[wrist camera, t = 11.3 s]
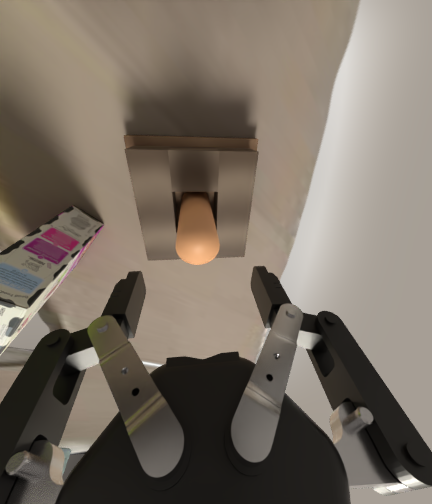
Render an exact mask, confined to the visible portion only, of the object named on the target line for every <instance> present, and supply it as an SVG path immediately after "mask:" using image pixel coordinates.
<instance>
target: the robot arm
mask: <svg viewBox="0 0 432 504" xmlns="http://www.w3.org/2000/svg"><path fill="white" fill-rule="evenodd" d="M251 290H252V293H253V295H254V298H255V301H256V304H257V307H258V309H259V312H260V315H261V318H262V321H263V323H264V326H265V328H271V330H270V332H269V334H268V336H267V339H266V341H265V344H264V346H263V348H262V351H261V353H260V356H259V358H258V360H257V363H256V364H254V363H253V362H251V361H249V360H247V359H245V358H241V357H239V353H238V352H228V353H220V354H217V355H215V356H212V357H209V358H207V359H197V358H191V357H185V356H184V357H173V358H167V361H166V364H165V365H162V366H160V367H158V368H157V369H155V370H154V371H153V372H152V373H150V374H149V373H148V371H147V370H146V368H145V366H144V365H143V363H142V361H141V360H140V358H139V356H138V355H137V353H136V351H135V350H134V348H133V346H132V344H131V343H130V342H129V341H128V338H134V336H135V333H136V329H137V325H138V321H139V318H140V314H141V310H142V306H143V302H144V299H145V294H146V288H145V283H144V279H143V275H142V272H141V271H132V272H129V273H128V275H127V278H126V279H121V280H120V281H119V282H118V283H117V284H116V285H115V287H114V289H113V292H112V294H111V296H110V298H109V300H108V302H107V304H106V307H105V309H104V311H103V313H102V315H101V317H99V318H97V319H96V320H94V321H93V322H92V323H91V324H90V325H89V327H88V328H86V329H83V330H80V331H77V332H73V333H70V332H69V331H68V330H65V329H59V330H55V331H53V332H51V333H49V334H47V335H46V336H45V337H43V338H42V339H41V341H40V342H39V343H38V345H37V346H36V348H35V349H34V351H33V352H32V354H31V356H30V357H29V359H28V361H27V362H26V364H25V365H24V367H23V369H22V370H21V372H20V373H19V375H18V377H17V378H16V380H15V381H14V383H13V385H12V386H11V388H10V389H9V391H8V393H7V394H6V396H5V397H4V399H3V401H2V402H1V404H0V504H351V503H350V492H349V489H357V488H370V487H372V488H373V489H374V490H375V491H376V492H378V493H380V494H382V495H393V494H398V493H403V492H407V491H412V490H417V489H422V488H427V487H431V486H432V452H431V450H430V449H429V447H428V446H427V444H426V443H425V442H424V440H423V439H422V437H421V436H420V434H419V433H418V431H417V430H416V428H415V427H414V425H413V424H412V423H411V421H410V420H409V418H408V417H407V415H406V414H405V412H404V411H403V410H402V408H401V407H400V405H399V404H398V402H397V401H396V399H395V398H394V396H393V395H392V393H391V392H390V390H389V389H388V388H387V386H386V385H385V383H384V382H383V380H382V379H381V377H380V376H379V374H378V373H377V372H376V370H375V369H374V367H373V366H372V364H371V363H370V361H369V360H368V358H367V357H366V355H365V354H364V352H363V351H362V350H361V348H360V347H359V346H358V344H357V342H356V341H355V339H354V338H353V336H352V335H351V334H350V332H349V331H348V329H347V328H346V326H345V325H344V323H343V322H342V320H341V319H340V318H339V317H338V316H337V315H335V314H333V313H331V312H328V311H322V312H319V313H318V315H317V316H316V315H311V314H306V313H303V312H302V311H301V310H300V309H299V308H298V307H297V306H295V305H293V304H292V303H291V301H290V300H289V298H288V296H287V294H286V292H285V291H284V289H283V288H282V285H281V284H280V281H279V280H278V278H277V277H276V276H275V275H274V274H273V273H268V271H267V270H266V268H265V266H254V268H253V273H252V278H251ZM297 346H298V347H302V348H306V350H307V352H308V355H309V357H310V359H311V361H312V364H313V366H314V368H315V370H316V373H317V375H318V377H319V380H320V382H321V384H322V386H323V389H324V391H325V393H326V395H327V398H328V400H329V402H330V404H331V407H332V409H333V412H332V414H331V416H330V425H331V429H332V433H333V442H332V441H331V439H330V438H329V437H328V436H327V434H326V433H325V432H324V431H323V430H322V429H321V428H320V427H319V426H318V425H317V424H316V423H315V422H314V421H313V420H312V419H311V418H310V417H309V416H308V415H307V414H306V413H304V411H303V410H302V409H301V408H299V406H298V405H297V404H296V403H295V402H294V401H293V400H292V399H291V398H290V397H289V396H287V394H286V393H285V390H286V386H287V382H288V378H289V374H290V370H291V367H292V362H293V359H294V355H295V351H296V347H297ZM96 364H100V366H101V368H102V371H103V373H104V376H105V378H106V380H107V383H108V385H109V387H110V390H111V392H112V395H113V397H114V399H115V402H116V404H117V406H118V409H119V412H118V413H117V415H116V416H115V417H114V418H113V420H112V421H111V422H110V423H109V425H108V426H107V427H106V428H105V430H104V431H103V432H102V433H101V435H100V436H99V437H98V438H97V440H96V441H95V442H94V443H93V445H92V446H91V447H90V448H89V450H88V451H87V452H86V453H85V455H84V456H83V457H82V459H81V460H80V461H79V462H78V463H77V465H76V466H75V467H74V469H73V470H72V471H71V473H70V474H69V476H68V477H67V479H66V481H65V482H64V483H63V479H62V470H63V466H64V459H65V457H64V452H63V450H62V449H61V448H59V447H58V445H59V442H60V440H61V437H62V434H63V432H64V429H65V426H66V423H67V421H68V418H69V415H70V412H71V410H72V407H73V404H74V401H75V399H76V396H77V393H78V391H79V388H80V385H81V382H82V380H83V377H84V374H85V371H86V369H87V368H89V367H91V366H94V365H96Z"/></svg>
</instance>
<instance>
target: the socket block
mask: <svg viewBox="0 0 432 504" xmlns="http://www.w3.org/2000/svg"><path fill="white" fill-rule="evenodd" d="M124 140H125V144H126V149H125V153H126V158H127V163H128V167H129V172H130V177H131V182H132V186H133V191H134V196H135V201H136V206H137V210H138V215H139V220H140V225H141V229H142V234H143V239H144V244H145V249H146V253H147V258H148V260H174V259H181V258H180V257H179V256H178V254H177V252H176V238H177V230H178V223H179V215H180V208H181V200H182V196H183V195H184V193H185V192H205V193H206V194H207V195H208V197H209V201H210V205H211V209H212V213H213V218H214V222H215V226H216V230H217V235H218V239H219V244H220V248H219V252H218V254H217V255H216V257H215V258H226V257H244V255H245V248H246V241H247V233H248V226H249V218H250V211H251V203H252V196H253V189H254V181H255V174H256V166H257V159H258V152H257V144H258V139H255V138H221V137H184V136H147V135H124Z"/></svg>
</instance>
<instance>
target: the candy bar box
mask: <svg viewBox="0 0 432 504" xmlns="http://www.w3.org/2000/svg"><path fill="white" fill-rule="evenodd" d="M103 226H104V224H103V223H101V222H99V221H98V220H96V219H94V218H93V217H91V216H89V215H88V214H86V213H85V212H83V211H82V210H80V209H78V208H77V207H75V206H71V207H69V208H68V209H66V210H65V211H63V212H62V213H60V214H59V215H57V216H56V217H54V218H53V219H51V220H50V221H48V222H47V223H45V224H44V225H42V226H40V227H39V228H38V229H36V230H35V231H33V232H32V233H30V234H29V235H27V236H25V237H24V238H22V239H21V240H19V241H17V242H16V243H15V244H13V245H11V246H10V247H8V248H7V249H5V250H4V251H2V252H1V253H0V355H1V354H2V353H3V352H4V350H5V349H6V348H7V347H8V346H9V344H10V343H11V342H12V341H13V339H14V338H15V337H16V336H17V335H18V334H19V333H20V332H21V330H22V329H23V328H24V327H25V325H27V323H28V322H29V321H30V320H31V319H32V317H33V316H34V315H35V314H36V313H37V311H38V310H39V309H40V308H41V307H42V306H43V304H44V303H45V302H46V301H47V300H48V298H49V297H50V296H51V295H52V294H53V293H54V291H55V290H56V289H57V288H58V287H59V285H60V284H61V283H62V282H63V281H64V279H65V278H66V277H67V276H68V275H69V273H70V272H71V271H72V270H73V269H74V267H75V266H76V265H77V263H78V262H79V260H80V259H81V258H82V256H83V255H84V253H85V252H86V250H87V249H88V247H89V246H90V244H91V243H92V242H93V240H94V239H95V237H96V236H97V234H98V233H99V231H100V230H101V229H102V227H103Z"/></svg>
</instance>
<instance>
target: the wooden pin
mask: <svg viewBox="0 0 432 504" xmlns="http://www.w3.org/2000/svg"><path fill="white" fill-rule="evenodd" d="M219 248H220V244H219V239H218V235H217V230H216V226H215V222H214V218H213V213H212V209H211V205H210V201H209V197H208V195H207V194H206V193H205V192H185V193H184V195H183V196H182V200H181V208H180V215H179V223H178V230H177V238H176V252H177V254H178V256H179V257H180V258H181V259H182V260H183V261H185V262H187V263H190V264H195V265H200V264H205V263H208V262H210V261H211V260H213V259H214V258H215V257H216V255H217V254H218V252H219Z"/></svg>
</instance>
